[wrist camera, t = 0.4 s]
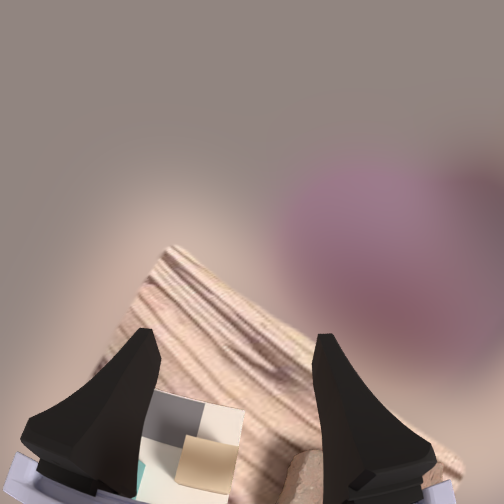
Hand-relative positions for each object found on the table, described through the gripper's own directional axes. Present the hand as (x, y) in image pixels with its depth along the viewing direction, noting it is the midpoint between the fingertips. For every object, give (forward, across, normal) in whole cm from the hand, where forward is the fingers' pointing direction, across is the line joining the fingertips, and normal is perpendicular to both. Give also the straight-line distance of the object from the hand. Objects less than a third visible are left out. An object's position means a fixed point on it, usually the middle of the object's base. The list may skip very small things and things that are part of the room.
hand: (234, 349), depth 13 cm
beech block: (0, +4, +19) cm, 19 cm away
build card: (+1, +8, +19) cm, 20 cm away
